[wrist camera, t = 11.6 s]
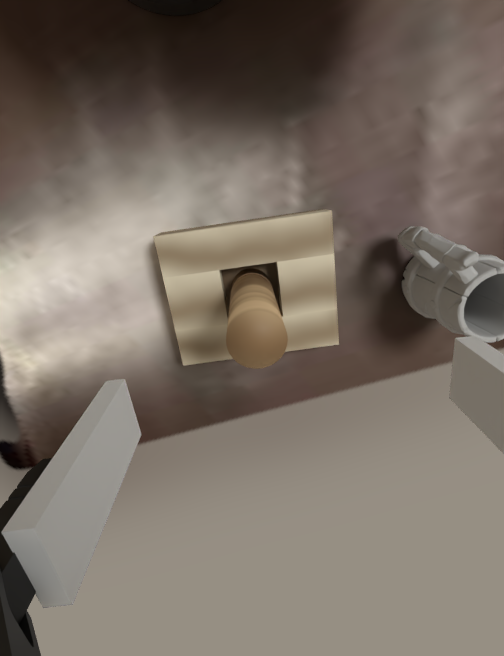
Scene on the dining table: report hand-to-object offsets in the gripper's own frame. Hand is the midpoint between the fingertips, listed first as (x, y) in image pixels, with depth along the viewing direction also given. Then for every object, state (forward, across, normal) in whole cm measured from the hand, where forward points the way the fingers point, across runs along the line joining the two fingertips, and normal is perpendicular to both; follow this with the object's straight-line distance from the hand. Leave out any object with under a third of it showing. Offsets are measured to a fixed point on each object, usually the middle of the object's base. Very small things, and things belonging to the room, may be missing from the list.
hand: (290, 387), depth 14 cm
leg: (+23, -1, -2) cm, 23 cm away
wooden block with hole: (+24, -1, -2) cm, 24 cm away
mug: (+24, +17, -2) cm, 29 cm away
